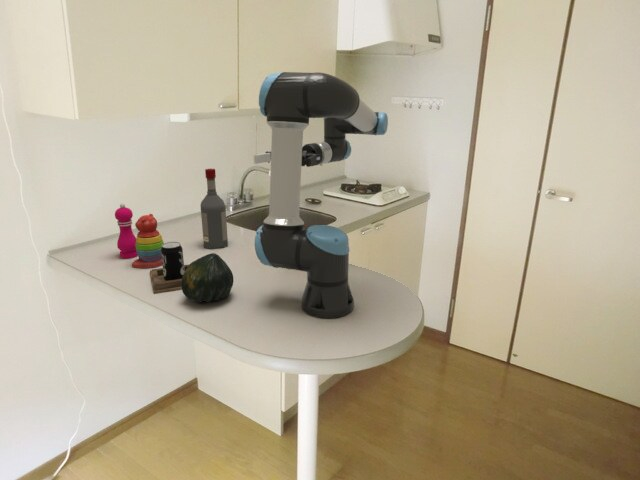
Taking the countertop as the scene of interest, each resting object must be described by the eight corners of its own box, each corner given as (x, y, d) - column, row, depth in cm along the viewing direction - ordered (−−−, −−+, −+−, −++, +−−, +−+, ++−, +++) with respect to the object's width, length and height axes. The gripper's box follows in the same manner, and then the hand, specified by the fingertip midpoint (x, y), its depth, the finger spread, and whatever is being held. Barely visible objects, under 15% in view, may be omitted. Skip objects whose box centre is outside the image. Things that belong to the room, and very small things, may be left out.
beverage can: (179, 284, 154) (175, 248, 150) (160, 282, 155) (156, 247, 152) (188, 276, 160) (185, 241, 156) (170, 274, 161) (167, 240, 158)
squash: (168, 279, 146) (184, 251, 137) (209, 267, 157) (227, 241, 147) (189, 319, 142) (207, 293, 133) (230, 304, 153) (250, 279, 143)
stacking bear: (148, 256, 180) (143, 210, 174) (172, 259, 177) (167, 212, 171) (129, 267, 170) (122, 218, 164) (154, 270, 167) (148, 220, 161)
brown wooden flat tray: (206, 285, 155) (206, 277, 154) (154, 293, 149) (153, 285, 148) (197, 266, 171) (197, 258, 170) (150, 272, 165) (149, 265, 164)
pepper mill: (122, 260, 176) (115, 207, 169) (116, 255, 181) (108, 203, 175) (142, 256, 180) (135, 203, 174) (135, 251, 185) (128, 200, 179)
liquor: (226, 240, 197) (221, 166, 187) (228, 247, 189) (223, 171, 179) (203, 242, 195) (197, 167, 185) (204, 249, 187) (198, 172, 177)
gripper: (343, 169, 159) (297, 179, 144) (290, 160, 175) (243, 168, 160) (343, 146, 157) (296, 154, 142) (290, 139, 173) (242, 145, 158)
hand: (268, 161), depth 151 cm, fingers open, 13 cm apart
